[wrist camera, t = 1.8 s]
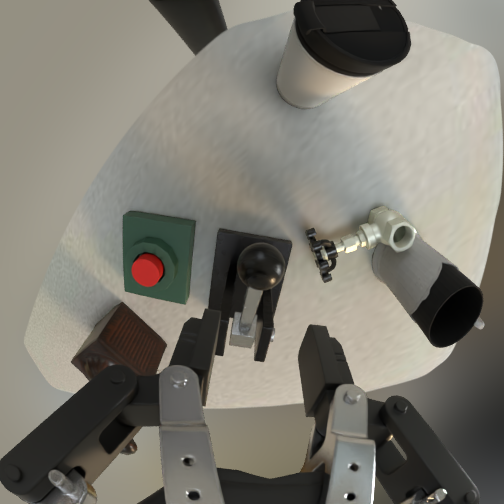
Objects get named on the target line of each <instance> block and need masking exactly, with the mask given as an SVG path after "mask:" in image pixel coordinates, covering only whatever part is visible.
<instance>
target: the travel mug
mask: <svg viewBox="0 0 504 504" xmlns="http://www.w3.org/2000/svg"><path fill="white" fill-rule="evenodd" d="M294 15H295V17H294V20H293V24H292V27H291V30H290V34H289V37H288V40H287V44H286V47H285V51H284V54H283V58H282V61H281V65H280V68H279V72H278V75H277V80H276V82H277V89H278V91H279V94H280V95H281V97H282V98H283V99H284V100H285V101H286V102H287V103H289V104H290V105H292V106H294V107H297V108H301V109H311V108H315V107H318V106H319V105H321V104H323V103H325V102H326V101H328V100H330V99H332V98H333V97H335V96H337V95H339V94H341V93H342V92H344V91H346V90H348V89H350V88H352V87H353V86H355V85H357V84H359V83H361V82H363V81H365V80H367V79H369V78H371V77H373V76H375V75H377V74H379V73H381V72H382V71H383V70H385V69H387V68H389V67H391V66H393V65H395V64H397V63H399V62H401V61H402V60H403V59H404V58H405V57H406V56H407V54H408V52H409V50H410V47H411V39H410V32H408V27H407V25H406V22H405V20H404V18H403V17H402V15H401V13H400V12H399V10H398V9H397V8H396V4H395V3H394V2H393V1H392V0H301V1H300V2H297V3H296V4H295V6H294Z"/></svg>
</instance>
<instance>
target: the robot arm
mask: <svg viewBox="0 0 504 504" xmlns="http://www.w3.org/2000/svg"><path fill="white" fill-rule="evenodd" d="M220 318H221V311H217V310H211V309H206V308H205V310H204V314H203V317H202V319H198V318H193V317H191V318H190V319H189V320H188V321H187V322H185V323H184V326H183V328H182V331H181V334H180V336H179V340H178V342H177V345H176V347H175V350H174V353H173V356H172V359H171V361H170V364H169V366H168V367H167V368H165V369H164V370H163V371H162V372H161V373H159V374H156V375H149V376H136V374H135V373H134V371H133V370H132V369H130V368H129V367H127V366H124V365H111V366H108V367H106V368H105V369H103V370H102V371H101V372H100V373H99V374H98V375H96V376H95V377H94V378H93V379H92V380H91V381H89V382H88V383H87V384H86V385H85V386H84V387H83V388H81V389H80V390H79V391H78V392H77V393H76V394H74V395H73V396H72V397H71V398H70V399H69V400H68V401H66V402H65V403H64V404H63V405H62V406H61V407H60V408H58V409H57V410H56V411H55V412H54V413H53V414H51V415H50V416H49V417H48V418H47V419H46V420H45V421H43V423H41V424H40V425H39V426H38V427H37V428H36V429H34V430H33V431H32V432H31V433H30V434H29V435H28V436H27V437H25V438H24V439H23V440H22V441H21V442H20V443H19V444H17V445H16V446H15V447H14V448H13V449H12V450H11V451H9V452H8V453H7V454H6V455H5V456H4V457H3V458H2V459H1V460H0V481H1V483H2V484H3V485H4V487H5V488H6V489H7V490H9V491H10V492H12V493H13V494H15V495H16V496H18V497H19V498H20V499H22V500H23V501H25V502H27V503H29V504H96V502H97V494H96V491H95V489H94V488H93V486H92V485H91V484H92V483H93V482H94V481H95V480H96V479H97V478H98V477H99V476H100V475H101V473H102V472H103V471H104V470H105V469H106V468H107V467H108V466H109V464H110V463H111V462H112V461H113V460H114V459H115V458H116V457H117V456H118V454H119V453H120V452H121V451H122V450H123V449H124V448H125V446H126V445H127V444H128V443H129V442H130V441H131V440H132V438H133V437H134V436H135V435H136V434H137V433H138V431H139V430H140V429H141V428H142V427H143V426H159V436H160V451H161V464H162V475H163V483H164V487H162V488H161V489H159V490H158V491H156V492H155V493H153V494H152V495H150V496H149V497H147V498H146V499H144V500H142V501H141V502H139V503H137V504H373V494H374V479H375V478H374V477H375V475H376V477H377V478H378V480H379V481H380V483H381V484H382V486H383V488H384V489H385V490H386V492H387V494H388V495H389V497H390V498H391V499H392V501H393V503H394V504H479V501H480V493H479V490H478V488H477V487H476V486H475V484H474V483H473V482H472V481H471V479H470V478H469V476H468V475H467V474H466V473H465V471H464V470H463V469H462V467H461V466H460V465H459V463H458V462H457V461H456V460H455V458H454V457H453V456H452V454H451V453H450V452H449V451H448V449H447V448H446V447H445V445H444V444H443V443H442V442H441V440H440V439H439V438H438V437H437V435H436V434H435V433H434V431H433V430H432V429H431V428H430V426H429V425H428V424H427V423H426V422H425V421H424V419H423V418H422V417H421V415H420V414H419V413H418V412H417V411H416V409H415V408H414V407H413V406H412V404H411V403H410V402H409V401H408V400H407V399H405V398H404V397H401V396H391V397H389V398H388V399H387V400H386V402H380V401H376V400H372V399H369V398H367V395H366V393H365V392H364V391H363V390H362V389H361V388H360V387H358V386H356V385H354V382H353V379H352V376H351V373H350V369H349V366H348V363H347V362H346V357H345V355H344V352H343V349H342V346H341V344H340V343H339V342H338V341H337V340H336V339H335V338H332V337H329V333H328V330H327V327H326V326H320V325H311V324H310V325H309V326H308V328H307V331H306V334H305V336H304V339H303V342H302V344H301V347H300V350H299V355H298V363H299V370H300V377H301V384H302V391H303V398H304V405H305V412H306V417H315V423H314V425H313V427H312V429H311V434H310V440H309V444H308V449H307V454H306V459H305V463H304V465H303V467H302V469H301V471H300V473H296V474H292V475H288V476H283V477H278V478H272V479H268V478H264V477H260V476H256V475H252V474H249V473H245V472H242V471H239V470H231V469H223V468H216V464H215V459H214V454H213V449H212V443H211V438H210V433H209V429H208V426H207V425H206V423H205V420H204V413H203V406H205V405H206V400H207V394H208V389H209V383H210V378H211V373H212V367H213V362H214V357H215V351H216V346H217V339H218V332H219V325H220ZM392 437H394V438H395V440H396V441H397V442H398V444H399V445H400V447H401V448H402V449H403V451H404V452H405V454H406V456H407V461H406V460H405V459H404V458H403V456H402V455H401V454H400V452H399V451H398V449H397V448H396V447H395V445H394V444H393V442H392V441H391V440H390V439H391V438H392Z"/></svg>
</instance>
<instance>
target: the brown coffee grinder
mask: <svg viewBox="0 0 504 504" xmlns="http://www.w3.org/2000/svg"><path fill="white" fill-rule="evenodd" d="M166 347H167V344H166V343H165V342H164V341H163V339H162V338H161V337H160V336H159V335H158V334H157V333H155V332H154V331H153V330H152V329H151V328H150V327H149V326H148V325H147V324H146V323H145V322H144V321H143V320H142V319H140V318H139V317H138V316H137V315H136V314H135V313H134V312H133V311H132V310H130V309H129V308H128V307H127V306H126V305H125V304H124V303H123V302H122V303H120V304H119V305H117V306H116V307H114V308H113V309H112V310H111V311H110V312H109V313H108V314H107V315H106V316H105V317H104V318H103V319H101V320H100V321H99V322H98V323H97V324H96V325H95V328H94V330H93V331H92V332H91V334H90V335H89V336H88V338H87V339H86V341H85V342H84V343H83V345H82V346H81V348H80V349H79V350H78V352H77V353H76V355H75V356H74V357H73V359H72V361H71V363H72V364H73V365H74V366H75V367H76V368H78V369H79V370H80V371H81V372H82V373H83V374H84V375H85V377H86V378H87V379H88V380H89V381H91V380H92V379H93V378H94V377H95V376H96V375H98V374H99V373H100V372H101V371H102V370H103V369H105V368H106V367H108V366H111V365H124V366H127V367H129V368H130V369H132V370H133V371H134V373H135V374H136V376H149V375H156V372H157V369H158V367H159V364H160V361H161V358H162V356H163V353H164V351H165V348H166ZM136 451H137V445H136V443H135V442H134V440H133V438H132V440H131V441H130V442H129V443H128V444H127V445H126V446H125V448H124V449H123V450H122V451H121V452H120V453H122V454H125V455H130V454H134V453H135V452H136Z"/></svg>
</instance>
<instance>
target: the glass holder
mask: <svg viewBox="0 0 504 504" xmlns="http://www.w3.org/2000/svg"><path fill="white" fill-rule="evenodd" d="M372 267H373V271H374V274H375V276H376V277H377V278H378V279H379V280H380V281H381V282H383V283H384V284H386V285H387V286H388V287H389V289H390V290H391V291H392V293H393V294H394V295H395V297H396V298H397V299H398V301H399V302H400V303H401V305H402V306H403V307H404V309H405V310H406V311H407V313H408V314H409V316H410V317H411V318H412V320H413V321H414V322H415V323H417V324H418V325H419V327H420V328H421V330H422V331H423V333H424V334H425V335H426V337H427V338H428V340H429V341H430V343H431V344H432V345H433V346H435V347H439V348H443V347H447V346H450V345H452V344H454V343H456V342H458V341H459V340H460V339H462V338H463V337H464V336H465V335H466V334H467V333H468V332H469V331H470V330H471V328H472V327H473V326H476V327H477V328H479V329H482V328H483V326H484V322H483V321H482V320H481V319H480V318H479V315H480V313H481V309H482V306H483V294H482V291H481V290H480V288H479V287H478V286H476V285H475V284H474V283H473V282H472V281H471V280H470V279H468V278H467V277H466V276H465V275H464V274H462V273H461V272H460V271H459V269H458V268H457V267H456V266H455V265H454V264H453V263H452V262H450V261H449V260H448V259H447V258H445V257H444V256H443V255H441V254H440V253H439V252H437V251H436V250H435V249H434V248H432V247H431V246H430V245H428V244H427V243H425V242H424V241H423V240H422V238H421V237H420V235H419V234H418V233H417V232H416V234H415V238H414V241H413V244H412V246H411V247H410V248H408V249H406V250H404V251H402V252H398V253H397V252H396V251H395V250H394V249H393V248H392V247H391V246H389V245H385V244H383V243H381V242H379V243H378V245H377V247H376V249H375V251H374V254H373V259H372Z"/></svg>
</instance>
